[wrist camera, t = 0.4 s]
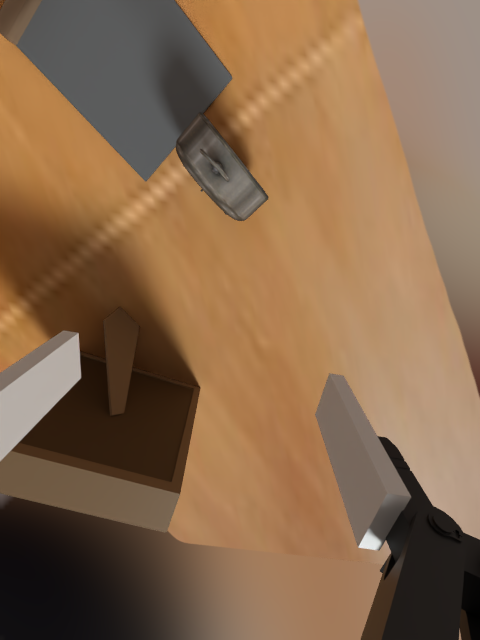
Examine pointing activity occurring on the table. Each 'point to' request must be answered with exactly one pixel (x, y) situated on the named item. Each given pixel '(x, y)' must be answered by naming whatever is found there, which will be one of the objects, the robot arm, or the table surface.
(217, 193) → the alarm clock
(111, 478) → the photo frame
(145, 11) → the mat
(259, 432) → the table surface
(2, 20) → the stop strip
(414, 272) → the table surface
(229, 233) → the table surface
